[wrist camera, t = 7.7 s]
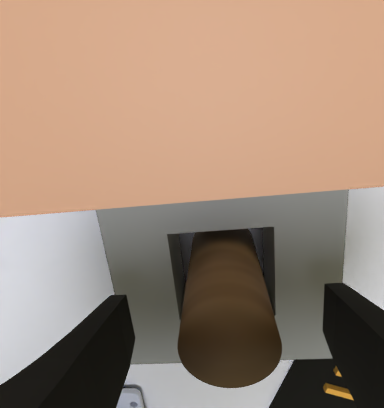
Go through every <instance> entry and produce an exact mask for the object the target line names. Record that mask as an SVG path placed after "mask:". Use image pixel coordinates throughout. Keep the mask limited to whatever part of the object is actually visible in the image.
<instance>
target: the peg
mask: <svg viewBox="0 0 384 408" xmlns="http://www.w3.org/2000/svg"><path fill="white" fill-rule="evenodd" d="M177 349H178V354H179V358H180V360H181V362H182V364H183V365H184V367H185V368H186V369H187V370H188V371H189V372H190V373H191V374H192V375H193V376H194V377H196V378H197V379H199V380H201V381H203V382H205V383H207V384H210V385H213V386H217V387H223V388H239V387H245V386H249V385H252V384H255V383H257V382H259V381H261V380H263V379H264V378H266V377H267V376H268V375H270V374H271V373H272V372H273V371H274V369H275V368H276V367H277V365H278V363H279V361H280V358H281V355H282V342H281V338H280V334H279V331H278V327H277V324H276V320H275V317H274V313H273V310H272V306H271V303H270V299H269V296H268V292H267V288H266V285H265V281H264V278H263V274H262V271H261V267H260V264H259V260H258V257H257V253H256V250H255V246H254V243H253V239H252V236H251V233H250V231H249V230H248V228H247V229H233V230H219V231H205V232H195V234H194V236H193V241H192V248H191V254H190V261H189V268H188V275H187V282H186V288H185V295H184V302H183V309H182V316H181V322H180V329H179V336H178V343H177Z"/></svg>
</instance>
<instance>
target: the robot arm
mask: <svg viewBox="0 0 384 408" xmlns="http://www.w3.org/2000/svg"><path fill="white" fill-rule="evenodd" d="M322 331H323V334H324V336H325V339H326V342H327V345H328V347H329V350H330V353H331V355H332V358H333V360H334V362H335V364H336V366H337V368H338V370H339V372H340V374H341V376H342V378H343V380H344V382H345V384H346V386H347V388H348V390H349V392H350V394H351V396H352V398H353V400H354V401H355V403H356V405H357V407H358V408H384V310H382V309H381V308H379V307H378V306H376V305H375V304H374V303H372V302H371V301H369V300H368V299H366V298H365V297H363V296H362V295H360V294H359V293H357V292H356V291H355V290H353V289H352V288H350V287H349V286H347V285H345V284H344V283H327V284H324V306H323V329H322ZM134 344H135V333H134V329H133V324H132V319H131V314H130V309H129V305H128V300H127V295H111V296H109V297H108V298H107V299H106V300H105V301H104V302H102V303H101V304H100V305H99V306H98V307H97V308H96V309H95V310H94V311H93V312H92V313H91V314H89V315H88V316H87V317H86V318H85V319H84V320H83V321H82V322H81V323H80V324H78V325H77V326H76V327H75V328H74V329H73V330H72V331H71V332H70V333H68V334H67V335H66V336H65V337H64V338H62V339H61V340H60V341H59V342H58V343H56V344H55V345H54V346H53V347H52V348H51V349H49V350H48V351H47V352H46V353H45V354H43V355H42V356H41V357H39V358H38V359H37V360H35V361H34V362H33V363H32V364H30V365H29V366H27V367H26V368H25V369H23V370H22V371H20V372H19V373H18V374H16V375H15V376H13V377H12V378H11V379H9V380H8V381H6V382H5V383H3V384H1V385H0V408H144V404H143V400H142V395H141V392H140V391H139V390H138V389H136V388H123V386H124V383H125V380H126V376H127V373H128V370H129V367H130V363H131V359H132V354H133V349H134Z"/></svg>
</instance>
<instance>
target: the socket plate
mask: <svg viewBox="0 0 384 408" xmlns="http://www.w3.org/2000/svg"><path fill="white" fill-rule="evenodd" d="M348 191H349V189H346V190H334V191H321V192H309V193H297V194H284V195H272V196H259V197H247V198H235V199H222V200H210V201H198V202H185V203H173V204H160V205H148V206H136V207H123V208H111V209H99V210H96V213H97V217H98V222H99V226H100V230H101V235H102V239H103V244H104V248H105V253H106V257H107V262H108V266H109V270H110V275H111V279H112V284H113V288H114V293H115V295H127V300H128V305H129V309H130V314H131V319H132V324H133V329H134V333H135V344H134V349H133V354H132V359H131V364H160V363H182V362H181V360H180V358H179V354H178V349H177V343H178V336H179V329H180V322H181V316H182V309H183V302H184V295H185V288H186V283H185V279H184V271H183V264H182V256H181V249H180V241H179V234H178V233H191V232H205V231H219V230H233V229H247V228H262V227H263V246H264V281H265V285H266V288H267V292H268V296H269V299H270V303H271V306H272V310H273V313H274V317H275V320H276V324H277V327H278V331H279V334H280V338H281V342H282V355H281V358H280V360H296V359H330V358H332V355H331V353H330V350H329V347H328V345H327V342H326V339H325V336H324V334H323V331H322V329H323V306H324V284H327V283H342V279H343V264H344V249H345V235H346V220H347V206H348Z"/></svg>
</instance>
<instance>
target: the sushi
mask: <svg viewBox="0 0 384 408" xmlns="http://www.w3.org/2000/svg"><path fill="white" fill-rule="evenodd" d="M269 408H358V407H357V405H356V403H355V401H354V400H353V398H352V396H351V394H350V392H349V390H348V388H347V386H346V384H345V382H344V380H343V378H342V376H341V374H340V372H339V370H338V368H337V366H336V364H335V362H334V360H333V358H330V359H296V360H294V362H293V364H292V366H291V368H290V369H289V371H288V373H287V375H286V377H285V379H284V381H283V382H282V384H281V386H280V388H279V390H278V392H277V394H276V396H275V397H274V399H273V401H272V403H271V405H270V407H269Z"/></svg>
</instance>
